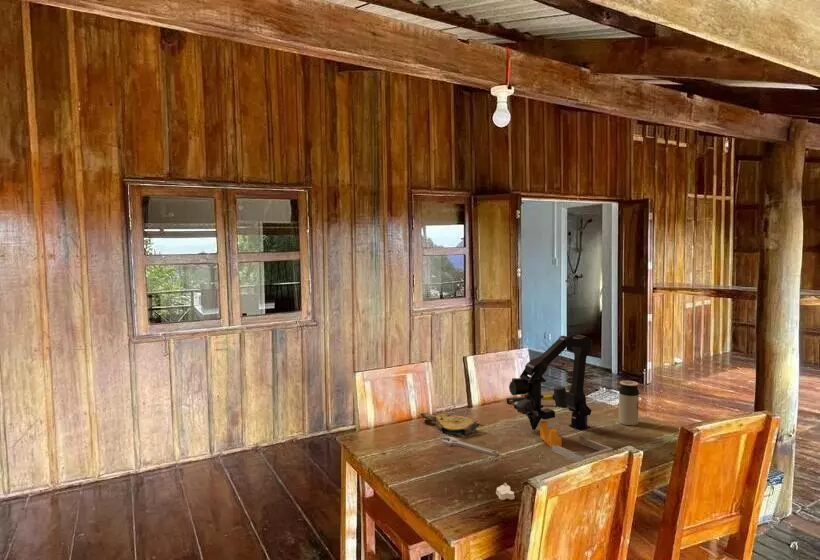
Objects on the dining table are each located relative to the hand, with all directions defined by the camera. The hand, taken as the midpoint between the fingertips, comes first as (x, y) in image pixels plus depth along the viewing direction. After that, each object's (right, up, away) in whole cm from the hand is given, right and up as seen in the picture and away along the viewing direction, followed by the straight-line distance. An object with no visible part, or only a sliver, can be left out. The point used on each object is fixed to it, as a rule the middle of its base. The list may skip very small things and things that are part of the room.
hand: (533, 429), depth 226 cm
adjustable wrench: (-29, -4, -16) cm, 33 cm away
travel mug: (+44, -1, +12) cm, 46 cm away
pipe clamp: (+5, -3, -9) cm, 11 cm away
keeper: (+13, -3, -21) cm, 25 cm away
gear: (-21, -6, -55) cm, 59 cm away
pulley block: (-35, -2, +8) cm, 36 cm away
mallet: (+10, +1, +40) cm, 41 cm away
